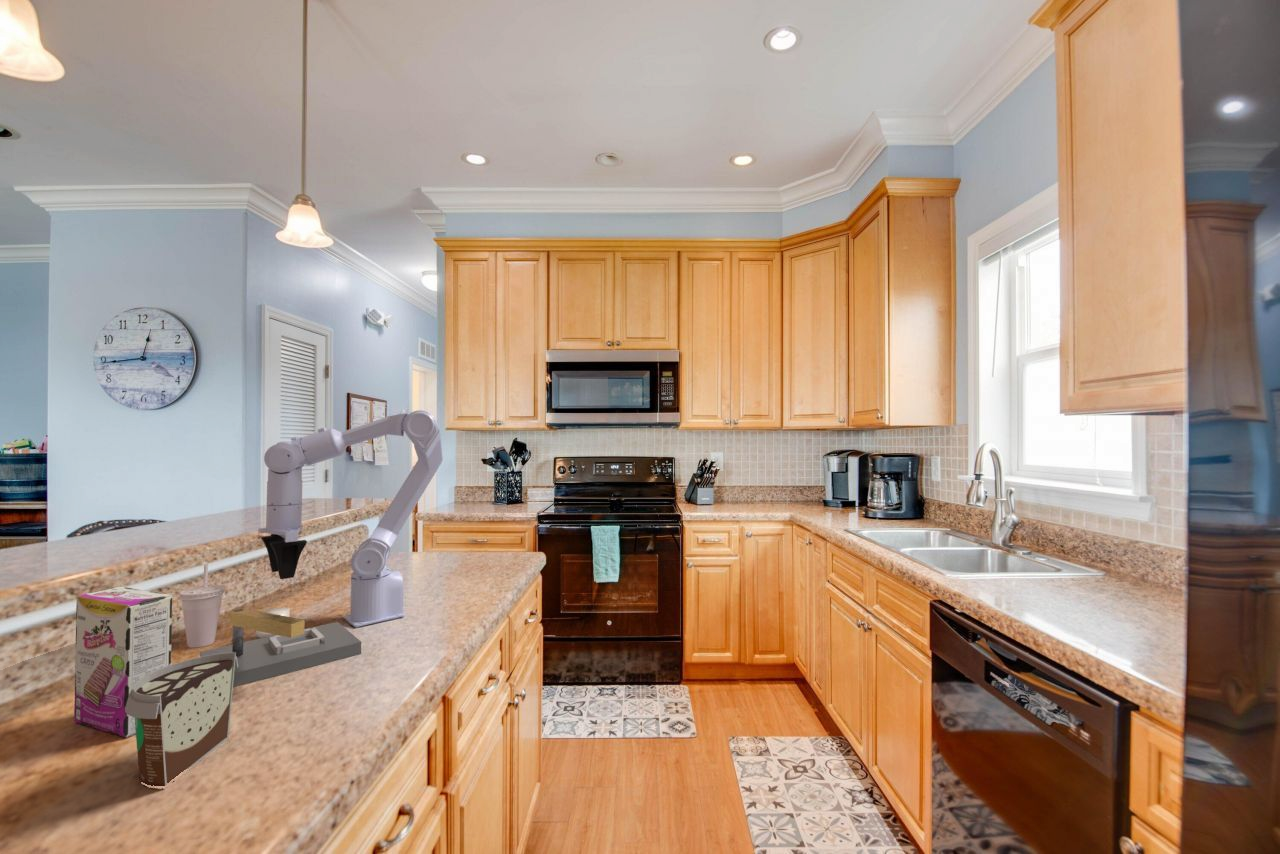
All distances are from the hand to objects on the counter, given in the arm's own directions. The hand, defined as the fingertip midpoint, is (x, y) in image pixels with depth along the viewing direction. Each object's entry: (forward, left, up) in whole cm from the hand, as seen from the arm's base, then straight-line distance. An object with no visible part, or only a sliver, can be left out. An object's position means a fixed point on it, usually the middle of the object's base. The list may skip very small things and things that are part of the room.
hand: (282, 574), depth 101 cm
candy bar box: (+22, +26, -11) cm, 36 cm away
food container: (+18, +42, -11) cm, 47 cm away
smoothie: (+12, -1, -11) cm, 16 cm away
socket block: (+3, +17, -10) cm, 20 cm away
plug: (+2, +5, -11) cm, 12 cm away
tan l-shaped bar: (+6, +23, -8) cm, 25 cm away
